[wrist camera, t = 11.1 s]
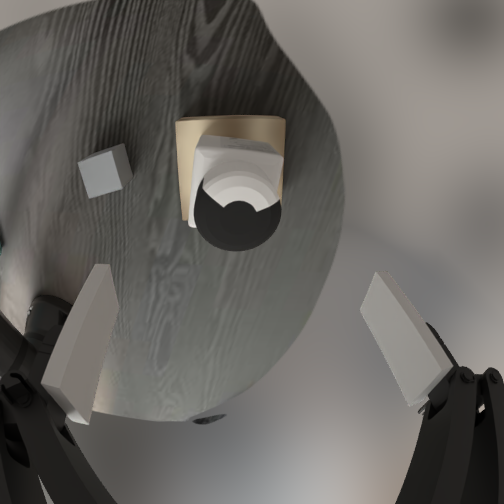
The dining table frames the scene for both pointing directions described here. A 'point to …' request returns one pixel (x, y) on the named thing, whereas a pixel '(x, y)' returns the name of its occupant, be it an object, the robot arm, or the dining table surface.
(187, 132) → the maple block
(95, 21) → the dining table surface
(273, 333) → the dining table surface
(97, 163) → the slate cube
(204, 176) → the container
